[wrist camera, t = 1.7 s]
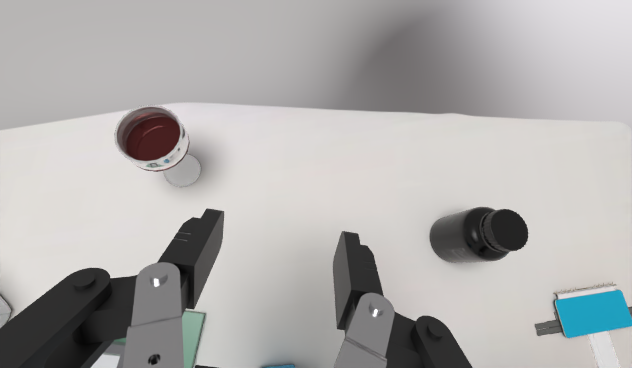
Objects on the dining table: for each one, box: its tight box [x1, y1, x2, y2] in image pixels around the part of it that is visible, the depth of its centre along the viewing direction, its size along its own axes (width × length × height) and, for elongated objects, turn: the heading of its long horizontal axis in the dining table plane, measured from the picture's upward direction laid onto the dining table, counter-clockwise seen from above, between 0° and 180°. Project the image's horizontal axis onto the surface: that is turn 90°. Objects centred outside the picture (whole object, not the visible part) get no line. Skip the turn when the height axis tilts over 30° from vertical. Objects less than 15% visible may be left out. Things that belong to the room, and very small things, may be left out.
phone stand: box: [535, 282, 632, 368], centre depth 44 cm, size 20×12×2 cm, turn 97°
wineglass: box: [114, 105, 201, 187], centre depth 37 cm, size 7×7×12 cm
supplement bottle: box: [430, 207, 528, 263], centre depth 39 cm, size 7×7×12 cm
